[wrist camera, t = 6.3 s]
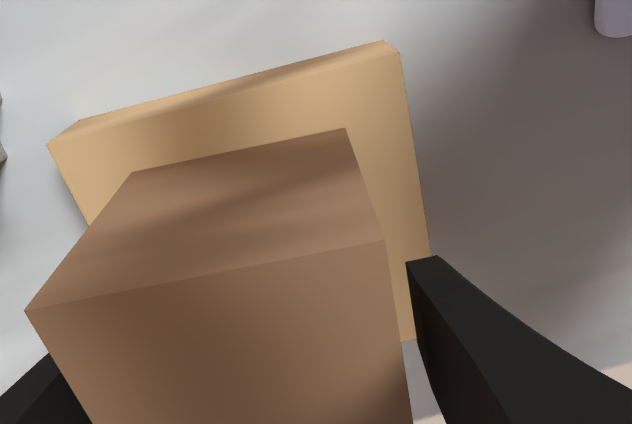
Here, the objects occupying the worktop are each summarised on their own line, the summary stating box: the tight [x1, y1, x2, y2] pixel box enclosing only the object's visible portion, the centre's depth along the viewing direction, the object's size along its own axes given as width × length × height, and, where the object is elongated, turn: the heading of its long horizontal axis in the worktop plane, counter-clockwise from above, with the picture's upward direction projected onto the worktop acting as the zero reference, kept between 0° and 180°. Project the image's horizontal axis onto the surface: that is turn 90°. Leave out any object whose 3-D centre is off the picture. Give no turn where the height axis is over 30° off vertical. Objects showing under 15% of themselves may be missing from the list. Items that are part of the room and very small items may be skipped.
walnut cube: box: [24, 128, 413, 424], centre depth 10 cm, size 5×5×5 cm
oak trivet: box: [46, 40, 431, 342], centre depth 13 cm, size 8×8×2 cm
